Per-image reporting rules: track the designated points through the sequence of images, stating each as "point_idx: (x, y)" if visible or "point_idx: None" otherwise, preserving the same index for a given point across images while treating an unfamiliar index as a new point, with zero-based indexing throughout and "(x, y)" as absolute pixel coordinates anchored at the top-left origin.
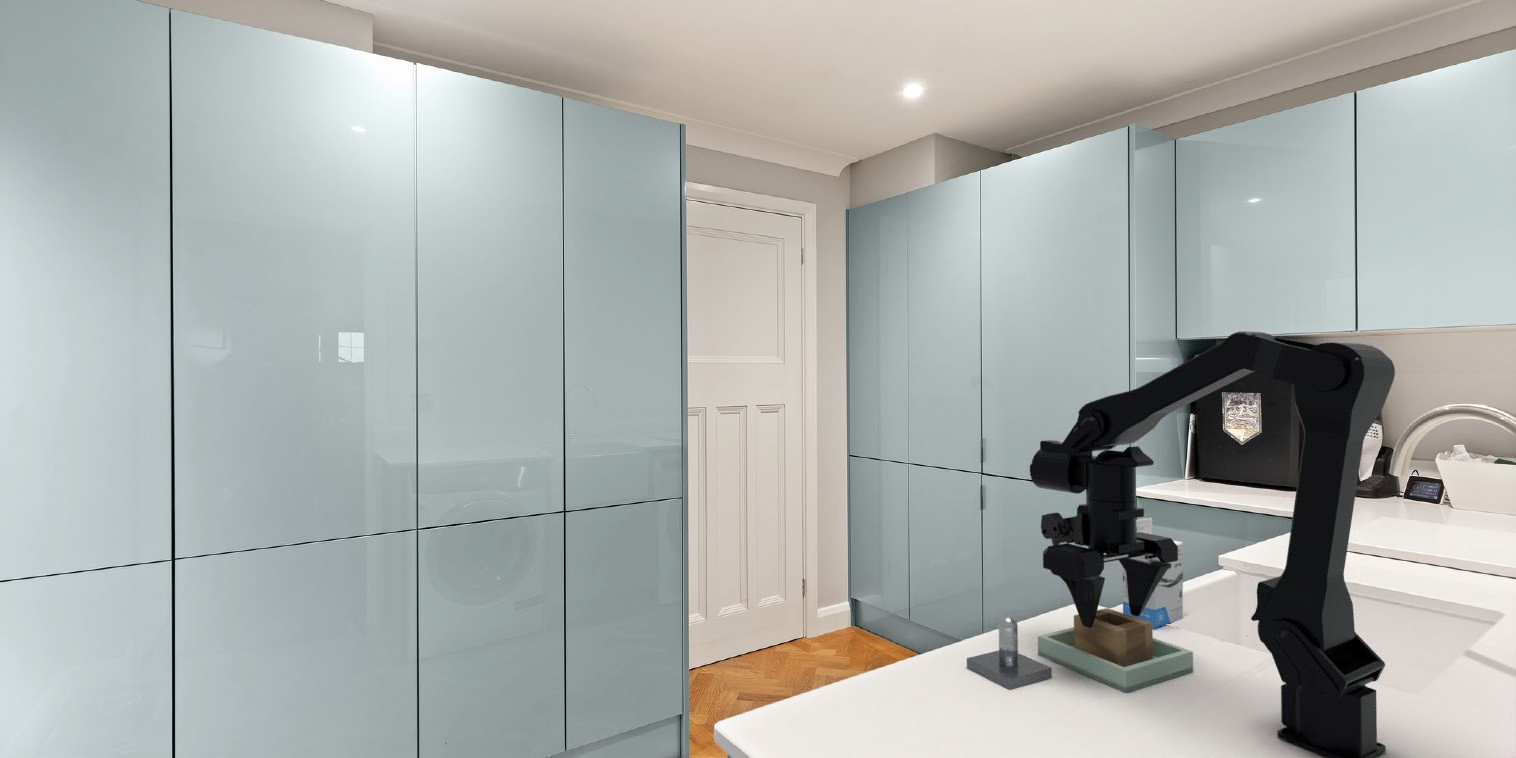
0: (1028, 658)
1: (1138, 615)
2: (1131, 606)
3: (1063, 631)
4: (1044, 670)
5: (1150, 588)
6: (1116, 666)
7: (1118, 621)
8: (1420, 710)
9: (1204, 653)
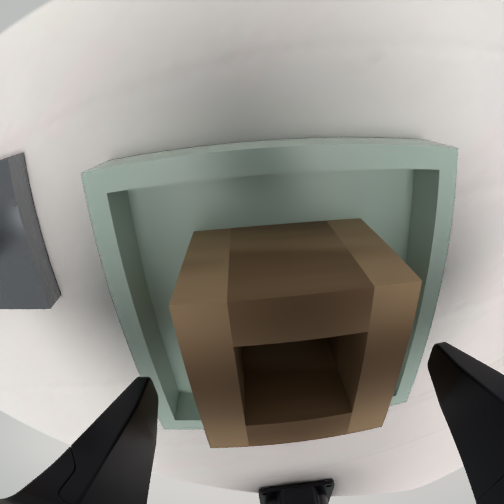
0: (23, 242)
1: (429, 368)
2: (446, 367)
3: (213, 167)
4: (32, 307)
5: (467, 474)
6: (160, 413)
7: (354, 351)
8: (452, 457)
9: (495, 309)
